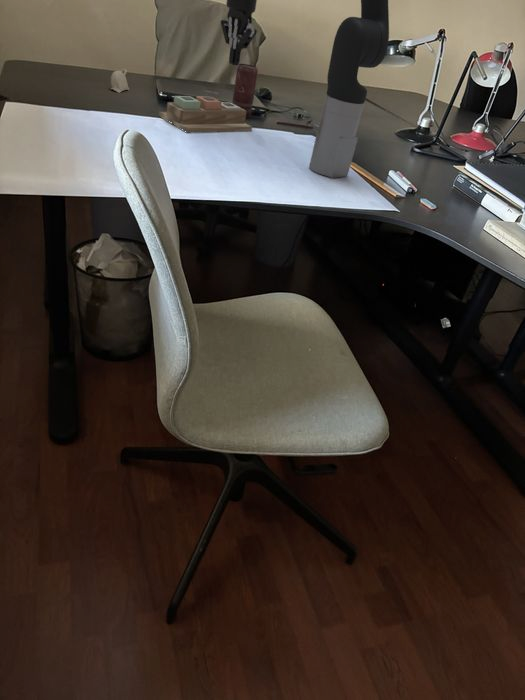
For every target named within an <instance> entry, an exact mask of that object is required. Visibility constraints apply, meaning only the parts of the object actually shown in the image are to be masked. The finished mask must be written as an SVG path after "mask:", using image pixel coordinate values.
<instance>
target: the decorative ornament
mask: <svg viewBox="0 0 525 700" xmlns="http://www.w3.org/2000/svg"><path fill="white" fill-rule="evenodd" d="M127 71H128V70H127V69H126V68H122V69H121V70H114V71H113V72H112V74H111V75H110V84H111V87H110V90H113V91H115V92H117V93H118V94H119V93H121V92H124V91H126V90H128V91H130V87H129V85H128V81H127V77H126V75H127Z"/></svg>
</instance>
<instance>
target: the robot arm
mask: <svg viewBox="0 0 525 700" xmlns="http://www.w3.org/2000/svg"><path fill="white" fill-rule="evenodd" d="M257 1H258V0H226V3H225V5H226V7H227V8H228V12H227V17H226V18H225V19H221V20H220V26H221V28H222V32H223V33H222V34H223V38H224V42H225V44H227V45H228V47H229V49H230V50H229V56H228V63H229V64H230V65H233V66H238V65H239V64H240V61H241V54H242V53H241V52H242V50H244V49H248V47H249V45H250V44H251V42H252V40H253V39H254V38H255V36H256V35H257V33H258V31H257V29H255V28H253V25H252V24H253V17H252V15H253V13H255V11H256V9H257V8H256V7H257ZM360 7H361V8H360V17H357V16H349V17H347V18H345V19H344V20H343V21H342V22H341V23H340V25H339V26H338V28H337V31H336V33H335V37H334V40H333V44H332V48H331V50H332V51H331V56H330V60H329V64H328V66H329V67H328V71H327V76H326V77H327V89H326V93H325V98H324V103H323V106H322V110H321V115H320V119H319V122H318V123H319V124H318V127H317V131H316V137H315V141H314V145H313V147H312V148H313V149H312V154H311V157H310V162H309V165H308V167H309V169H310V171H313V172H315V173H316V174H319V175H323V176H326V177H328V178H331V179H334V178H342V177H343V178H344V177H348V175H349V173H350V172H349V171H350V168H351V164H352V161H353V158H354V154H355V150H356V147H357V144H358V140H359V138H358V136H356V134H357V131H358V128H359V127H358V126H359V124H360V120H361V117H362V116H361V115H362V113H363V110H364V106H365V103H366V98H367V95H368V90H367V88H366V87H365V86H364V85H363V84H361V83H360V81H359V80H358V74H359V73H358V72H359V68H367V69H368V68H369V69H373V68H377V67H378V66H379V65H380V64H381V63H382V62H383V61H384V59H385V57H386V55H387V53H388V52H387V51H388V48H389V42H390V41H389V39H390V22H389V21H390V20H389V18H390V17H389V16H390V14H389V12H390V11H389V0H360Z"/></svg>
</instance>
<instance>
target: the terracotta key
mask: <svg viewBox="0 0 525 700" xmlns="http://www.w3.org/2000/svg"><path fill="white" fill-rule="evenodd" d="M195 99H196V100H198V101H200V107H201V108H202V109H204V110H221V103H222V102H223V101H220V100H219V99H217V98H214V97H212V96H198V95H197V96H195Z"/></svg>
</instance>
